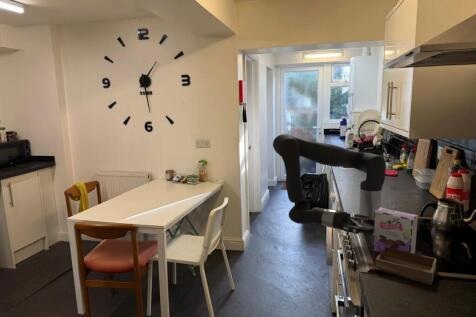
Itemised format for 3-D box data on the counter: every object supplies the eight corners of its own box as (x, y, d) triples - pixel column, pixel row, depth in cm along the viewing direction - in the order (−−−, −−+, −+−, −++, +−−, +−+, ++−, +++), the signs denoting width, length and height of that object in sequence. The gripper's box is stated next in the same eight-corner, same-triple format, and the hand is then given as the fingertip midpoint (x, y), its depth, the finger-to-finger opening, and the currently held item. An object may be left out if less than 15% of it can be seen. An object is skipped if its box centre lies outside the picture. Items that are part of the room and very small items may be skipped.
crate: (383, 256, 121) (383, 246, 120) (435, 269, 111) (436, 258, 110) (375, 269, 112) (375, 259, 111) (431, 285, 102) (432, 273, 101)
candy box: (371, 250, 126) (373, 210, 123) (377, 245, 130) (379, 206, 127) (409, 262, 116) (412, 219, 113) (415, 256, 120) (418, 214, 117)
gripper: (328, 216, 128) (371, 224, 119) (341, 205, 139) (381, 212, 130) (328, 233, 130) (370, 243, 120) (341, 222, 141) (380, 230, 131)
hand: (376, 227), depth 125 cm, fingers open, 8 cm apart
